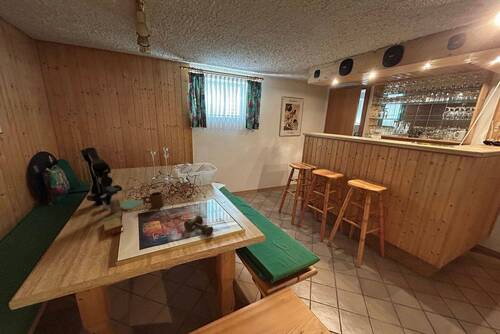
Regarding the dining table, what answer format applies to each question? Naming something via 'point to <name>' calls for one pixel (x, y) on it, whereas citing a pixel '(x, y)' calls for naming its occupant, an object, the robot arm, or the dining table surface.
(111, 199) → the grey block
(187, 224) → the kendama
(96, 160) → the robot arm
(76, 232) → the dining table surface
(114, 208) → the walnut block
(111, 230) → the carton
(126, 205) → the felt mat
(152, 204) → the mug
